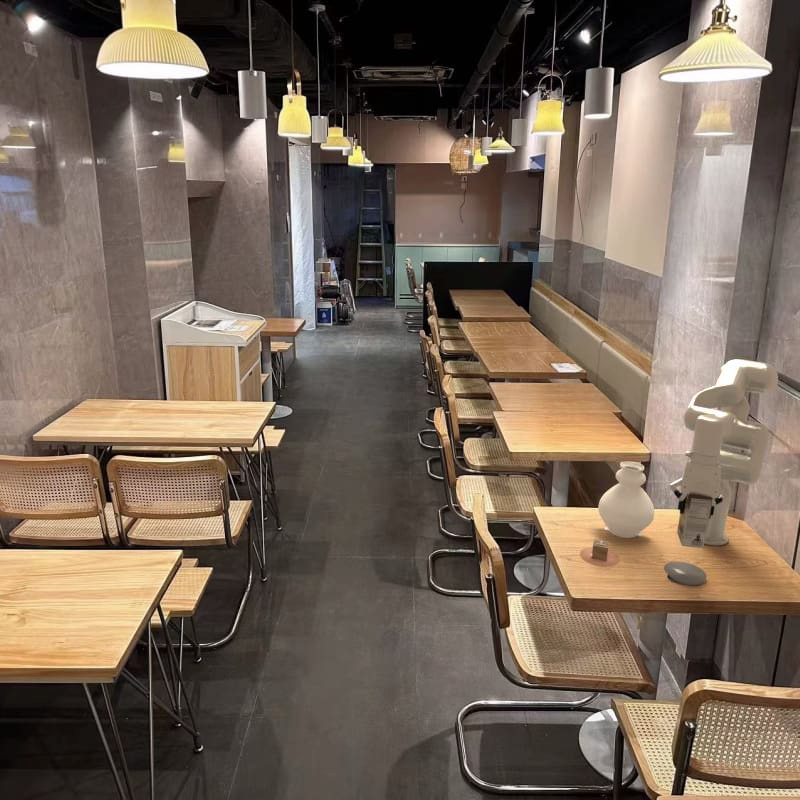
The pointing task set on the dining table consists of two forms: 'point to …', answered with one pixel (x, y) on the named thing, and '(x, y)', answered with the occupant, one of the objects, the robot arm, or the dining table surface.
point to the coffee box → (694, 520)
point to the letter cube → (600, 549)
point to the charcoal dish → (685, 573)
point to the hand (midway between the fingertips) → (694, 514)
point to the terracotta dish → (587, 556)
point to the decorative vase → (627, 503)
